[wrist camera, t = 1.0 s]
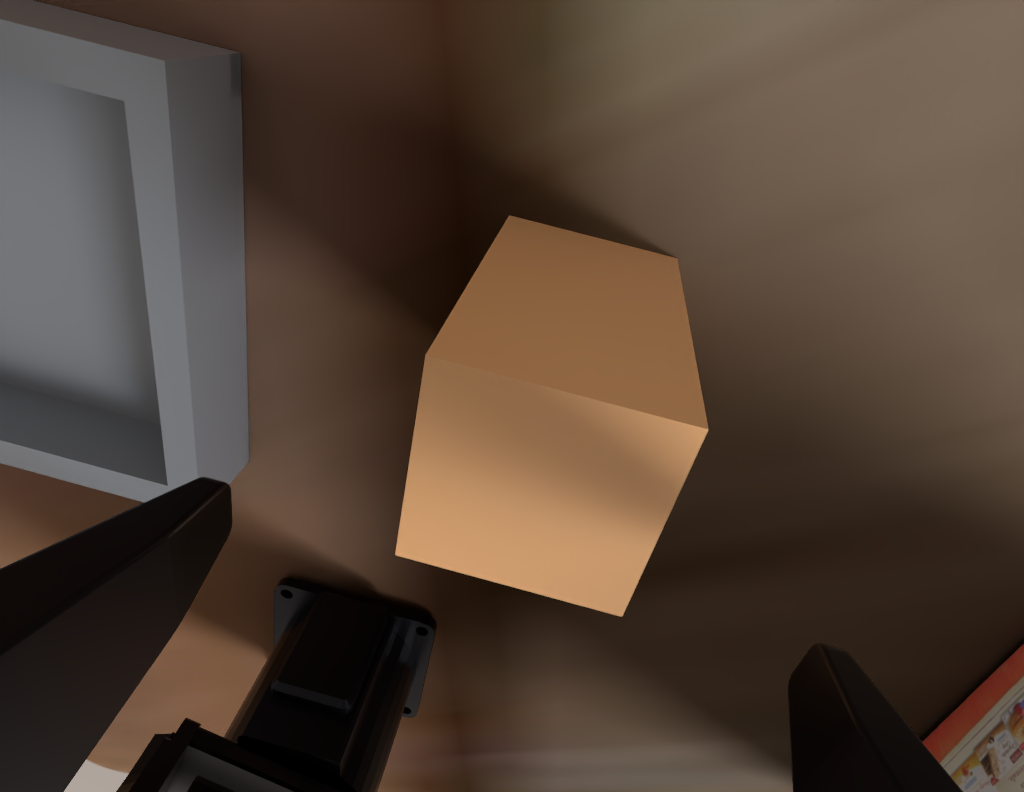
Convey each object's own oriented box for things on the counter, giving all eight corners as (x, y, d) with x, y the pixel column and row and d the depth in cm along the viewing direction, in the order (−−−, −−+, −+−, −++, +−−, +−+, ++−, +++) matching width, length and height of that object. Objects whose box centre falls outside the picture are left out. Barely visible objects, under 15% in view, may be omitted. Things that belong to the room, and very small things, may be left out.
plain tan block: (625, 400, 19) (622, 616, 12) (479, 362, 19) (395, 555, 12) (677, 257, 17) (708, 429, 10) (508, 214, 17) (425, 354, 10)
